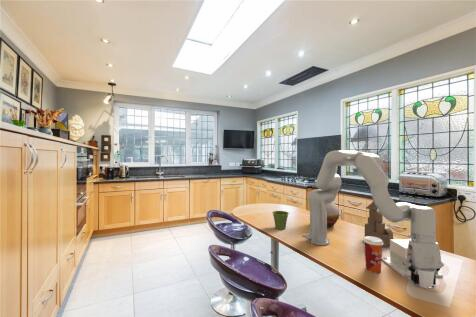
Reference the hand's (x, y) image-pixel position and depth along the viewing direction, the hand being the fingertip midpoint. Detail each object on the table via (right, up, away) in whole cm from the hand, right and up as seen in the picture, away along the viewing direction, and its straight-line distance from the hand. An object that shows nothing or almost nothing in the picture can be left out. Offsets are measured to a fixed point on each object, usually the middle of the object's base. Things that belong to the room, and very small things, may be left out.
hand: (423, 282), depth 85 cm
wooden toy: (+10, -1, +43) cm, 44 cm away
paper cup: (-13, -1, +11) cm, 17 cm away
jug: (-9, -1, +73) cm, 74 cm away
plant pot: (-43, -1, +69) cm, 81 cm away
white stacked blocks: (+5, -1, +13) cm, 14 cm away
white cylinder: (0, -1, 0) cm, 1 cm away
